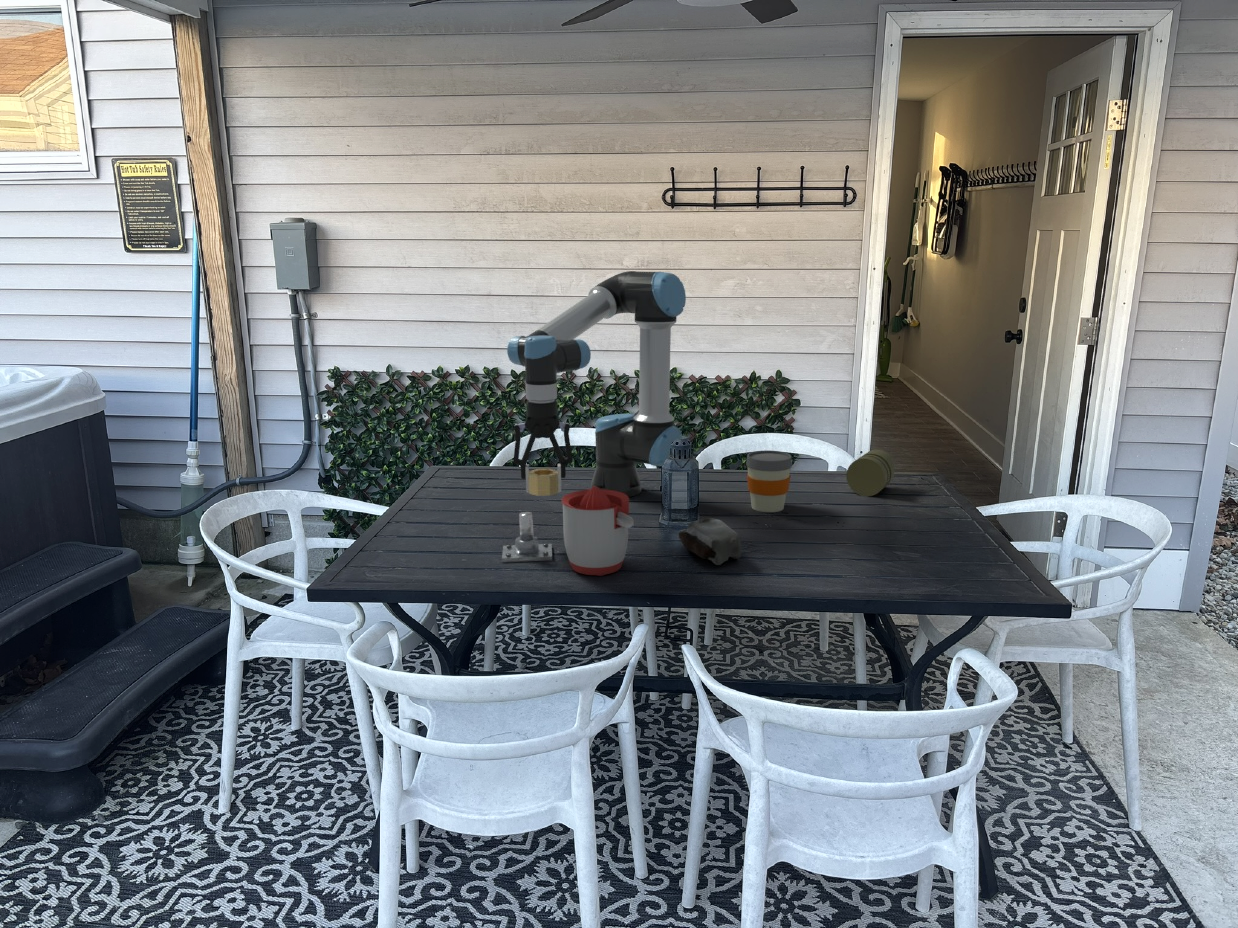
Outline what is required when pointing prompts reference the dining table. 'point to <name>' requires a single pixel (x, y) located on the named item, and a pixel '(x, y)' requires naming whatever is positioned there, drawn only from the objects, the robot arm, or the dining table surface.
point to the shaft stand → (526, 544)
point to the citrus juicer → (596, 530)
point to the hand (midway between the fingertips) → (543, 490)
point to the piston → (871, 472)
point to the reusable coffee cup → (768, 479)
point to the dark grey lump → (711, 540)
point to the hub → (543, 482)
